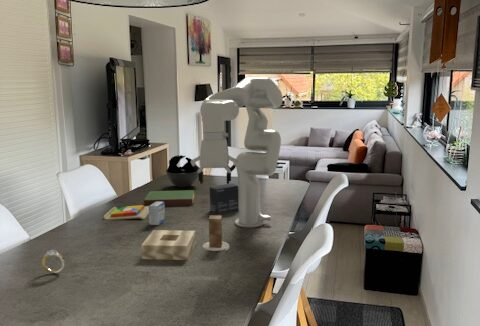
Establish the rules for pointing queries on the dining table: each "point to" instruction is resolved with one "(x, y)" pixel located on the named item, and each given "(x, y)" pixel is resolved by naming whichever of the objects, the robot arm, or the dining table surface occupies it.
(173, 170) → the bowl of black rocks
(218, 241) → the walnut peg
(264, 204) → the dining table surface
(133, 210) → the wooden puzzle
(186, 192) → the hardcover book
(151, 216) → the medicine box
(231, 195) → the small box
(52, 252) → the bracelet
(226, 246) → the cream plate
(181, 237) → the birch pocket block
